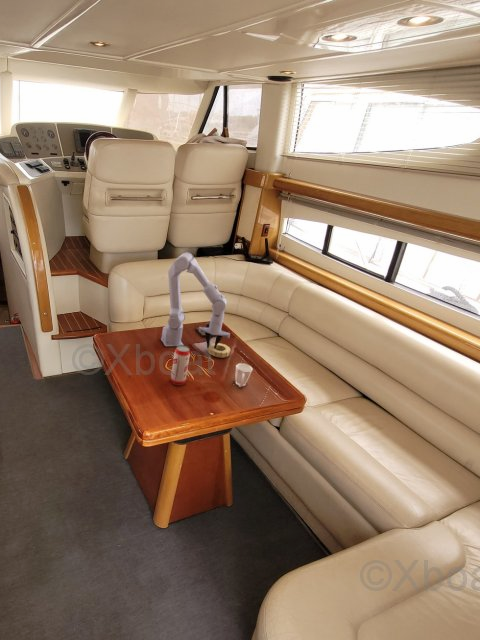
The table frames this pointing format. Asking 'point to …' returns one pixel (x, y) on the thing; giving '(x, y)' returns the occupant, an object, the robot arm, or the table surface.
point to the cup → (242, 374)
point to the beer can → (180, 365)
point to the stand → (203, 332)
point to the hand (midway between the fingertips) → (211, 347)
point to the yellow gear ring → (217, 353)
